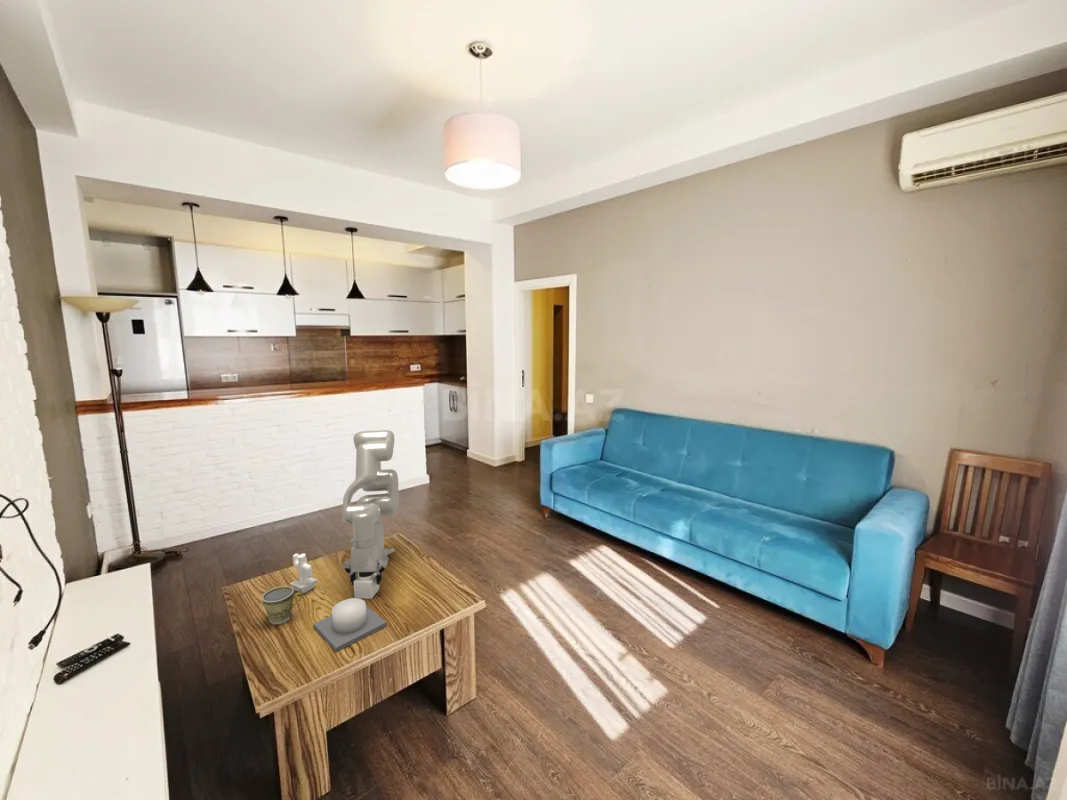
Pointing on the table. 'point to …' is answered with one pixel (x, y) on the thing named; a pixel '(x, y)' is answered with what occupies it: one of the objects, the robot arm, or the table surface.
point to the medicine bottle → (365, 585)
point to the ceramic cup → (279, 603)
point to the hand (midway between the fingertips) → (366, 583)
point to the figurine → (303, 574)
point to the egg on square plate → (349, 623)
